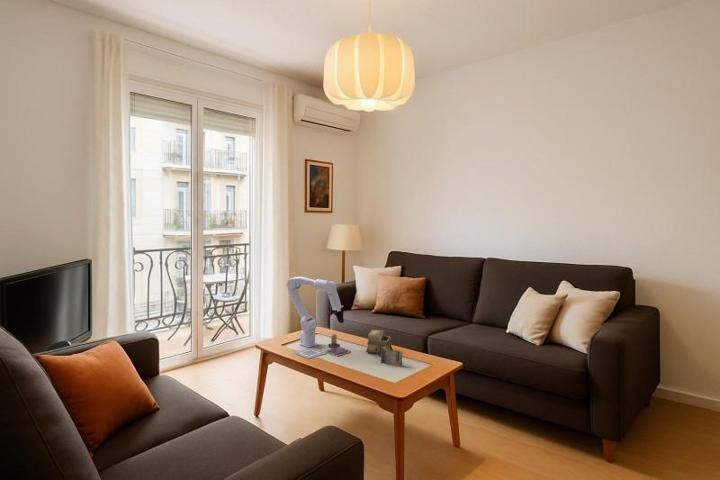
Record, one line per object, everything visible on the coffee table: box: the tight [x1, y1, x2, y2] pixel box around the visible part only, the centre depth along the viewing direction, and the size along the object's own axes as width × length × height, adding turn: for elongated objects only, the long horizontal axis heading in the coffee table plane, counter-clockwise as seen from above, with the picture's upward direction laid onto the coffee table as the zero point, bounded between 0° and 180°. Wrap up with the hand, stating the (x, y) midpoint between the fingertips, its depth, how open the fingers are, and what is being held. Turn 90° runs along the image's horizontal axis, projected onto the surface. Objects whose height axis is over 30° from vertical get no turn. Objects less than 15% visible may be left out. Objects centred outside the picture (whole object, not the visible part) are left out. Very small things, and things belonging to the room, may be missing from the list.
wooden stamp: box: [327, 333, 341, 349], centre depth 261 cm, size 5×5×8 cm
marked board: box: [293, 347, 327, 360], centre depth 248 cm, size 14×13×1 cm
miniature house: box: [365, 329, 393, 357], centre depth 251 cm, size 15×14×11 cm
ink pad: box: [324, 346, 352, 357], centre depth 250 cm, size 11×11×1 cm
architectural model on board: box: [380, 347, 403, 367], centre depth 231 cm, size 11×3×10 cm, turn 60°
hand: (341, 322), depth 254 cm, fingers open, 7 cm apart
